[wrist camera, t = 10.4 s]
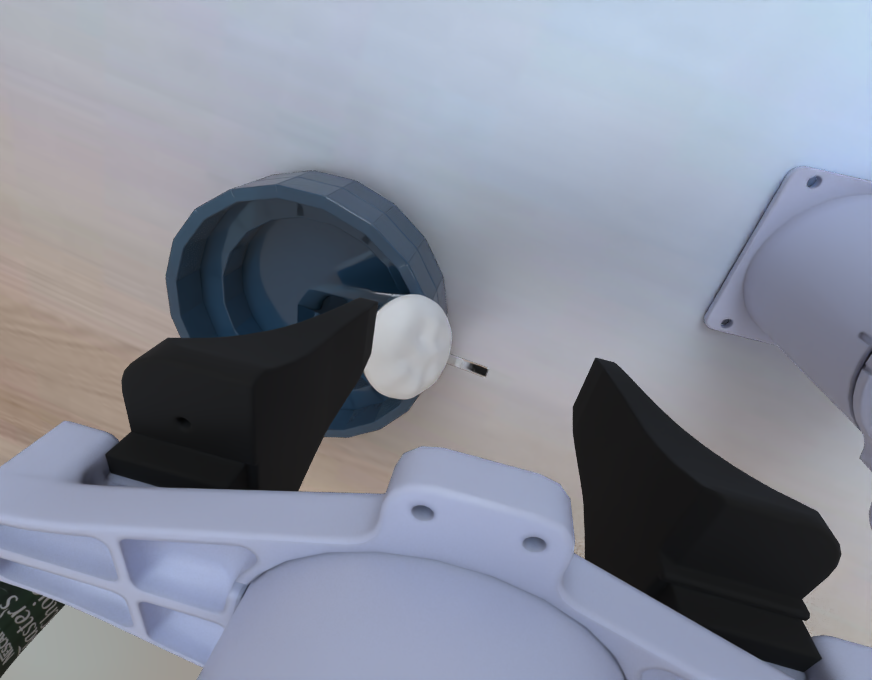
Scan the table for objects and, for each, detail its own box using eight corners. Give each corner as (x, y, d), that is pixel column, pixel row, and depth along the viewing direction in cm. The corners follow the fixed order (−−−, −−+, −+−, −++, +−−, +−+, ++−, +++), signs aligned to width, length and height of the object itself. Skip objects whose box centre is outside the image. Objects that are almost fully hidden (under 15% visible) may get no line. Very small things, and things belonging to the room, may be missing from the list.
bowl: (473, 205, 22) (462, 229, 18) (424, 415, 30) (408, 464, 26) (210, 141, 23) (146, 152, 19) (226, 361, 30) (182, 401, 27)
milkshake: (355, 360, 27) (470, 421, 20) (272, 341, 23) (376, 407, 16) (379, 290, 27) (504, 324, 19) (299, 259, 23) (417, 288, 16)
